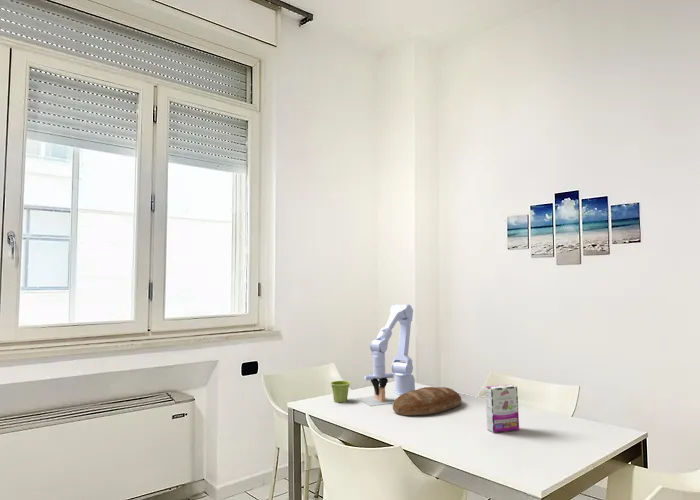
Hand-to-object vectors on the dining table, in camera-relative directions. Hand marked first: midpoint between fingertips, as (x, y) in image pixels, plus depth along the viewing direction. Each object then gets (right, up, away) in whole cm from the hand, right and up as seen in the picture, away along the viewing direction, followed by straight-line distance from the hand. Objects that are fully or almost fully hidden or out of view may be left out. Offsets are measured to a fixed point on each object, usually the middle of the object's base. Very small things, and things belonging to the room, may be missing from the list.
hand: (379, 394), depth 240 cm
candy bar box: (+44, 0, -48) cm, 65 cm away
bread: (+21, -2, -14) cm, 25 cm away
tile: (0, -2, 0) cm, 2 cm away
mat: (-2, -3, -1) cm, 3 cm away
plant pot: (-18, -3, 0) cm, 19 cm away
